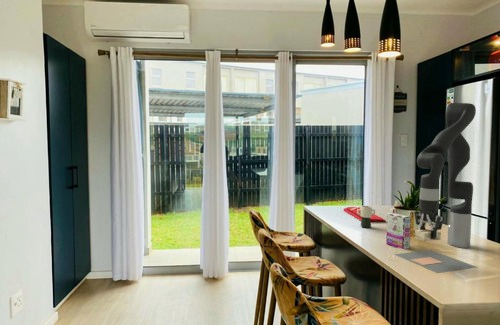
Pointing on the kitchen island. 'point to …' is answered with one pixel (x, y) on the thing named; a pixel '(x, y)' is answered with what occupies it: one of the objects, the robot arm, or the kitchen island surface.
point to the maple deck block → (426, 235)
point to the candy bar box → (398, 230)
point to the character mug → (365, 215)
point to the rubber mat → (435, 261)
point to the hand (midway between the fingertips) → (427, 236)
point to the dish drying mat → (353, 212)
